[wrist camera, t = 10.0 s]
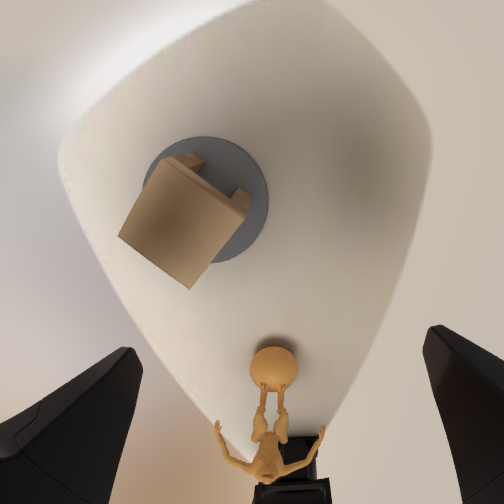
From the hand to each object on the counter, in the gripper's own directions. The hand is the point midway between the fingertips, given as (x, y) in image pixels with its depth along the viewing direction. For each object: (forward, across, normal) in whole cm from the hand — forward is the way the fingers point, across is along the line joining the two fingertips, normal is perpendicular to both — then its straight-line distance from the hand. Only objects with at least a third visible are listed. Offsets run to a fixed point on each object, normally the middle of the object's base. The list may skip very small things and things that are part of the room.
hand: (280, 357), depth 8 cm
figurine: (+13, +2, +13) cm, 19 cm away
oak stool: (+13, +5, -2) cm, 14 cm away
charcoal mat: (+13, +5, -2) cm, 14 cm away
